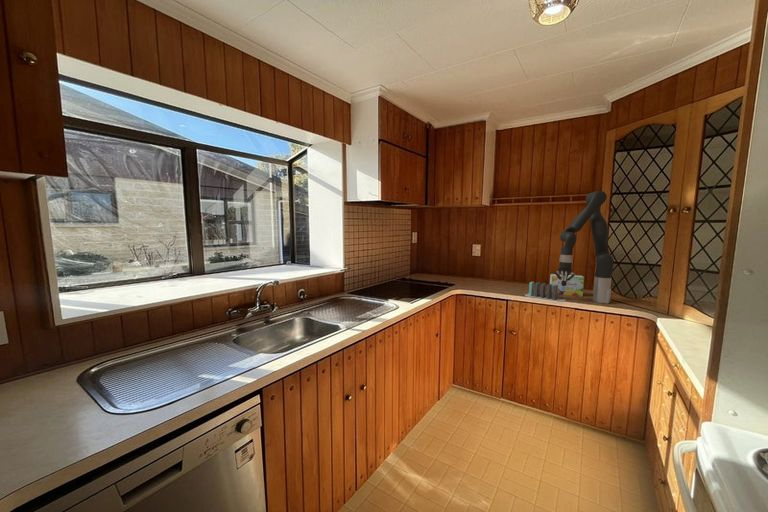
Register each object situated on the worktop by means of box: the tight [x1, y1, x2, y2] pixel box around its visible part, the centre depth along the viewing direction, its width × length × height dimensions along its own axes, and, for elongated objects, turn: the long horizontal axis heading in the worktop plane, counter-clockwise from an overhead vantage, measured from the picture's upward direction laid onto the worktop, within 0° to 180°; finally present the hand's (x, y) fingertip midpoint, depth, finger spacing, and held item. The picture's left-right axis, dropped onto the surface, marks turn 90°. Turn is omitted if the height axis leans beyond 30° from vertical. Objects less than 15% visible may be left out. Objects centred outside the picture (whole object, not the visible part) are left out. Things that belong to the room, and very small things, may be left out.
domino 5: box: [552, 285, 558, 300], centre depth 213 cm, size 2×5×10 cm, turn 134°
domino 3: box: [539, 282, 547, 298], centre depth 219 cm, size 2×5×10 cm, turn 134°
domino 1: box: [528, 281, 535, 296], centre depth 225 cm, size 2×5×10 cm, turn 134°
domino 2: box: [534, 282, 541, 297], centre depth 222 cm, size 2×5×10 cm, turn 134°
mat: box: [524, 292, 567, 303], centre depth 219 cm, size 26×10×1 cm, turn 44°
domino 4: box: [545, 283, 552, 299], centre depth 216 cm, size 2×5×10 cm, turn 134°
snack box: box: [549, 273, 585, 297], centre depth 227 cm, size 21×6×15 cm, turn 73°
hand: (563, 286), depth 209 cm, fingers closed
